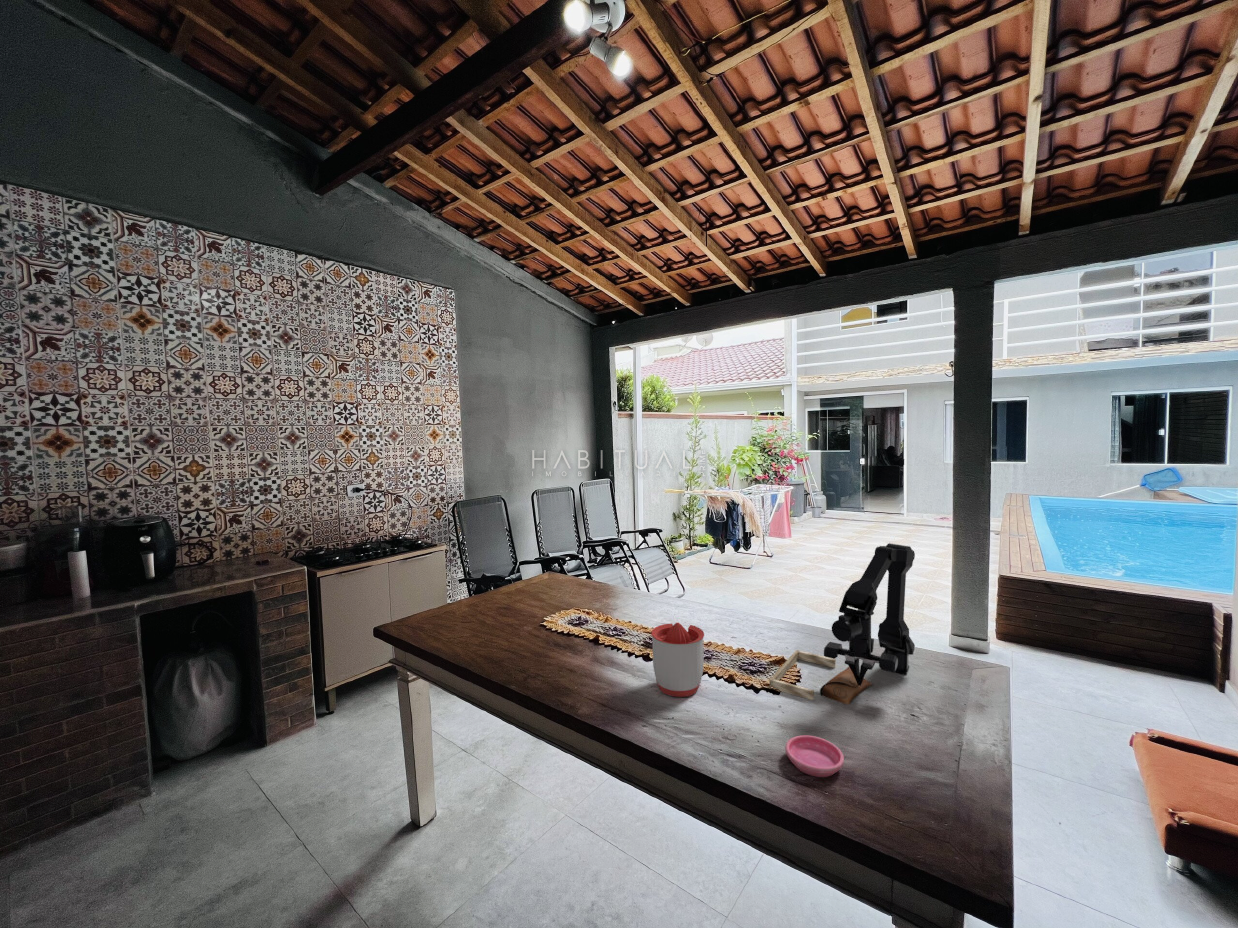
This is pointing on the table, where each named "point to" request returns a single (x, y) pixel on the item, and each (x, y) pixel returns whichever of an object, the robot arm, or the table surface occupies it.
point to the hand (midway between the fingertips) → (859, 684)
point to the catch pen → (789, 663)
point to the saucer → (814, 755)
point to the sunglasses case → (843, 687)
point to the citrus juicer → (678, 658)
